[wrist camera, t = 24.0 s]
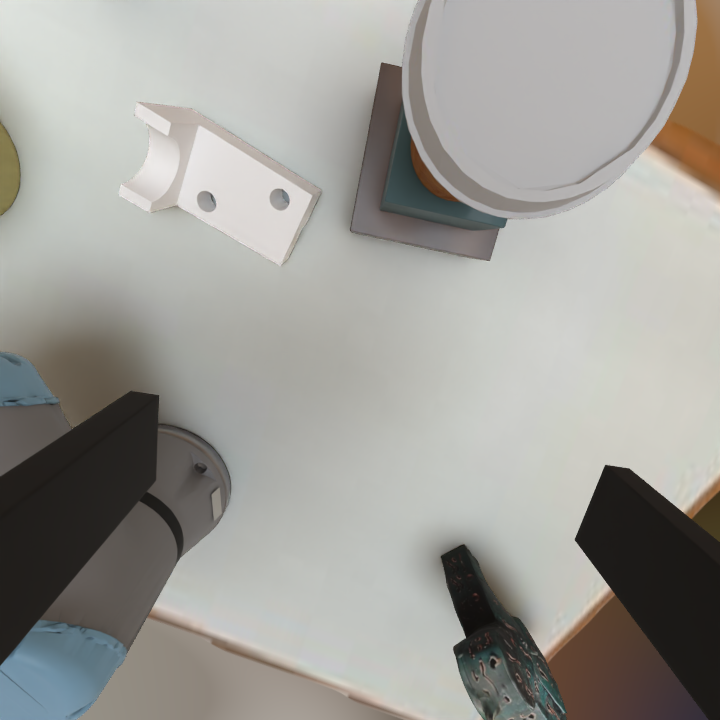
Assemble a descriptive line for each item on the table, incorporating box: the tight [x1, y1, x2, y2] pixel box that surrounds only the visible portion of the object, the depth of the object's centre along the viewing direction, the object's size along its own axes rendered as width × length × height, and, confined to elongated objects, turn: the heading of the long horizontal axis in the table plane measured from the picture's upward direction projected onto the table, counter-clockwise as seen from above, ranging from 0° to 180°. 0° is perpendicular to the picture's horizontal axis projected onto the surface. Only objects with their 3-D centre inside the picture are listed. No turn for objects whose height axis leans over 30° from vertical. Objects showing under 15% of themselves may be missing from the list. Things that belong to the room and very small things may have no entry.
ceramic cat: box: [441, 545, 567, 720], centre depth 41 cm, size 20×6×20 cm, turn 34°
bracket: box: [119, 102, 322, 266], centre depth 33 cm, size 13×7×8 cm, turn 59°
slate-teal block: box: [380, 99, 507, 231], centre depth 27 cm, size 8×8×7 cm
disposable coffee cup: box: [402, 0, 697, 219], centre depth 18 cm, size 10×10×12 cm
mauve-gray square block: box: [350, 63, 499, 261], centre depth 33 cm, size 12×12×6 cm
